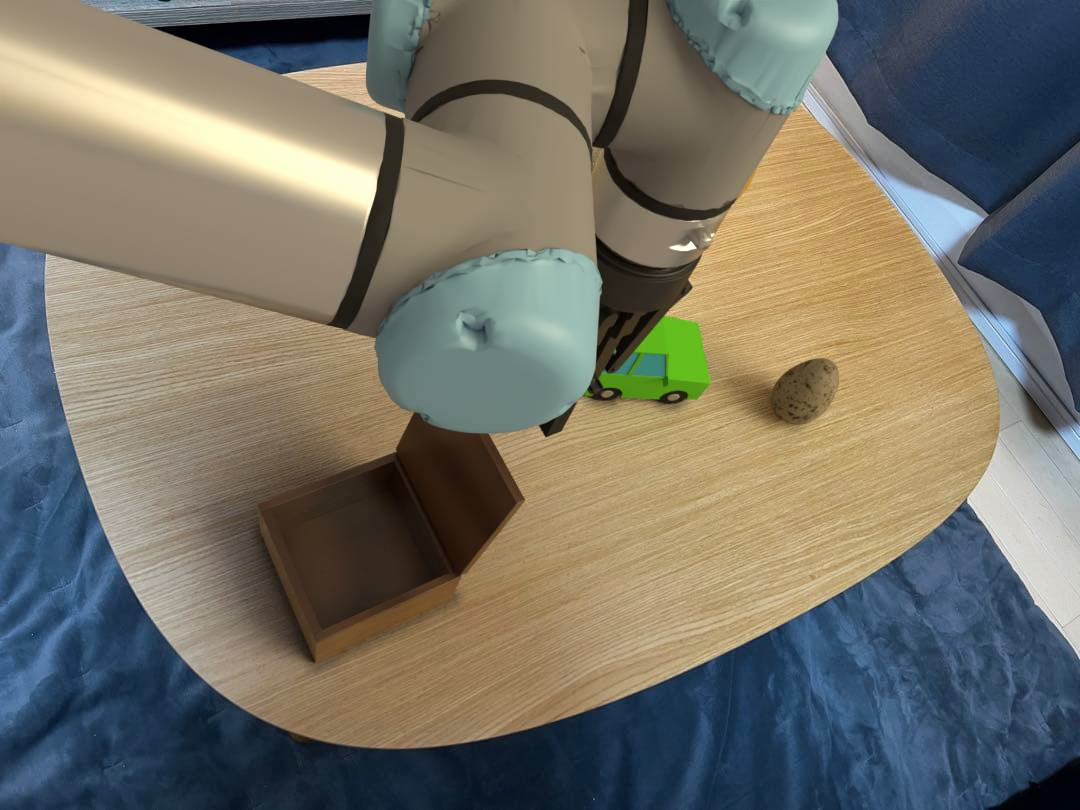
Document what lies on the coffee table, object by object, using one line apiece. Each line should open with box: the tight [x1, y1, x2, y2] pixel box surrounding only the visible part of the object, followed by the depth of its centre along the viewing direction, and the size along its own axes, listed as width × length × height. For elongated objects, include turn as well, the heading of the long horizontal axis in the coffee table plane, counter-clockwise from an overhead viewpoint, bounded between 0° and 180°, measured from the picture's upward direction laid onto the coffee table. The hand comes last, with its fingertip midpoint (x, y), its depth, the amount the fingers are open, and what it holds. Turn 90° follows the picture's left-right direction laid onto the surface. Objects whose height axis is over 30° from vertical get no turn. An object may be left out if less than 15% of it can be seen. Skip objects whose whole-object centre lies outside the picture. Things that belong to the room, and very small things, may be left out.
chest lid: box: [395, 412, 526, 576], centre depth 67 cm, size 13×13×1 cm
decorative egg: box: [770, 357, 840, 426], centre depth 91 cm, size 6×6×10 cm
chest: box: [257, 450, 463, 664], centre depth 73 cm, size 13×13×7 cm
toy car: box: [583, 315, 711, 405], centre depth 89 cm, size 10×13×10 cm
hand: (545, 420), depth 67 cm, fingers closed
